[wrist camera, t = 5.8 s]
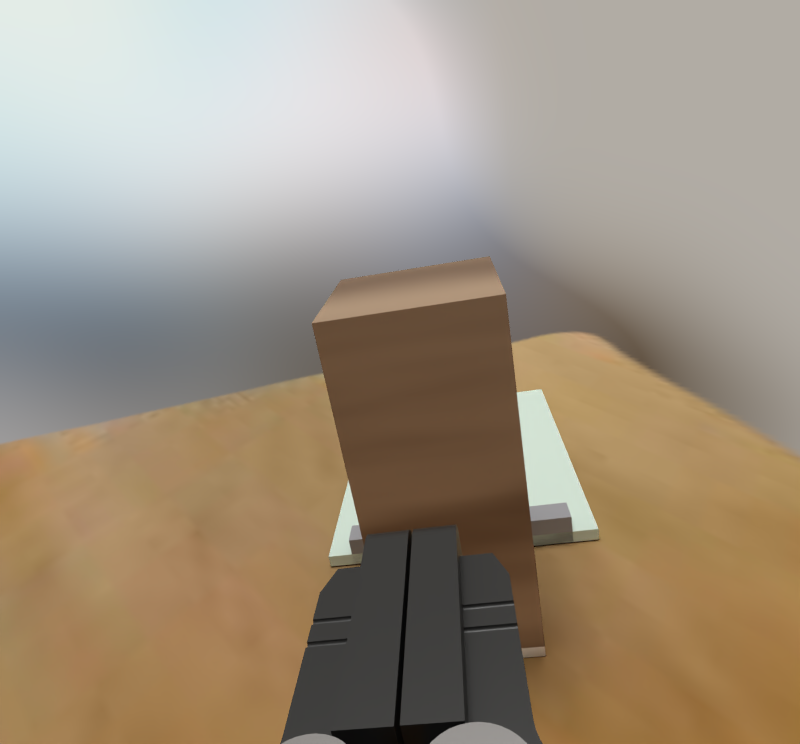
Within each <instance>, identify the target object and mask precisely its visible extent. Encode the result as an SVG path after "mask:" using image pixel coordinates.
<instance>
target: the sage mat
mask: <svg viewBox="0 0 800 744" xmlns="http://www.w3.org/2000/svg"><path fill="white" fill-rule="evenodd" d="M517 400H518V409H519V418H520V427H521V436H522V445H523V454H524V463H525V472H526V481H527V490H528V499H529V508H530V517H531V526H532V535H533V545H534V546H538V545H548V544H558V543H567V542H577V541H587V540H597V539H599V530H598V527H597V524H596V522H595V519H594V517H593V514H592V512H591V510H590V507H589V505H588V502H587V500H586V497H585V495H584V492H583V490H582V488H581V485H580V483H579V480H578V478H577V475H576V473H575V470H574V468H573V466H572V463H571V461H570V458H569V456H568V453H567V451H566V448H565V446H564V444H563V441H562V439H561V436H560V434H559V431H558V429H557V426H556V424H555V422H554V419H553V417H552V414H551V412H550V409H549V407H548V404H547V402H546V400H545V397H544V395H543V392H542V390H541V389H540V390H532V391H524V392H517ZM363 549H364V544H363V540H362V536H361V531H360V527H359V523H358V519H357V514H356V510H355V506H354V501H353V497H352V493H351V489H350V484H349V480H348V484H347V488H346V492H345V496H344V500H343V503H342V507H341V511H340V515H339V519H338V523H337V527H336V530H335V534H334V538H333V542H332V546H331V550H330V554H329V560H330V564H331V566H340V565H350V564H360V563H361V560H362V555H363Z"/></svg>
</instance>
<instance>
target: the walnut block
mask: <svg viewBox="0 0 800 744" xmlns="http://www.w3.org/2000/svg"><path fill="white" fill-rule="evenodd" d="M312 326H313V330H314V335H315V339H316V343H317V347H318V352H319V356H320V360H321V365H322V369H323V373H324V377H325V382H326V386H327V390H328V395H329V399H330V403H331V407H332V412H333V416H334V420H335V425H336V429H337V433H338V437H339V442H340V446H341V450H342V454H343V459H344V463H345V467H346V472H347V476H348V480H349V484H350V489H351V493H352V497H353V501H354V506H355V510H356V514H357V519H358V523H359V527H360V531H361V536H362V540H363V544H365V539H366V536H367V535H368V534H376V533H385V532H394V531H403V530H411V531H412V532H413V529H419V528H428V527H437V526H446V525H455V524H457V527H458V532H459V538H460V544H461V550H462V556H466V555H476V554H485V553H493V554H494V555H495V557H496V558H497V559H498V560H499V562H500V563H501V564H502V565H503V567H504V568H505V569H506V570H507V572H508V573H509V575H510V581H511V587H512V594H513V600H514V606H515V612H516V618H517V624H518V630H519V636H520V642H521V648H522V654H523V658H526V657H539V656H546V653H545V644H544V635H543V626H542V617H541V608H540V599H539V590H538V581H537V572H536V563H535V554H534V545H533V535H532V526H531V517H530V508H529V499H528V490H527V481H526V472H525V463H524V454H523V445H522V436H521V427H520V418H519V409H518V400H517V391H516V382H515V373H514V364H513V355H512V345H511V336H510V328H509V319H508V309H507V302H506V294H505V291H504V289H503V286H502V284H501V282H500V279H499V277H498V275H497V272H496V270H495V268H494V265H493V263H492V261H491V258H490V257H482V258H477V259H470V260H464V261H457V262H452V263H445V264H439V265H432V266H426V267H420V268H413V269H407V270H401V271H395V272H389V273H382V274H376V275H369V276H363V277H357V278H350V279H344V280H341V281H340V282H339V284H338V285H337V287H336V288H335V290H334V291H333V293H332V294H331V296H330V297H329V299H328V300H327V301H326V303H325V304H324V306H323V308H322V309H321V311H320V312H319V313H318V315H317V316H316V318H315V319H314V321H313V322H312Z"/></svg>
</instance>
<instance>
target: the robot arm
mask: <svg viewBox="0 0 800 744" xmlns="http://www.w3.org/2000/svg"><path fill="white" fill-rule="evenodd" d="M307 643H308V647H307V648H306V649H305V653H304V657H303V660H302V664H301V668H300V672H299V676H298V680H297V683H296V687H295V691H294V695H293V699H292V703H291V707H290V710H289V714H288V718H287V722H286V726H285V730H284V734H283V737H282V740H281V743H280V744H542V742H541V740H540V738H539V736H538V734H537V731H536V729H535V725H534V721H533V715H532V709H531V703H530V697H529V691H528V685H527V679H526V673H525V667H524V661H523V654H522V648H521V642H520V636H519V630H518V624H517V618H516V612H515V606H514V600H513V594H512V587H511V581H510V575H509V573H508V572H507V570H506V569H505V568H504V567H503V565H502V564H501V563H500V562H499V560H498V559H497V558H496V557H495V555H494V554H493V553H485V554H476V555H466V556H462V550H461V544H460V538H459V532H458V527H457V524H455V525H446V526H437V527H428V528H419V529H413V532H412V531H411V530H403V531H394V532H385V533H376V534H368V535H367V536H366V539H365V544H364V549H363V555H362V560H361V566H360V567H353V568H344V569H338V570H337V571H336V573H335V574H334V575H333V577H332V578H331V579H330V580H329V582H328V583H327V584H326V586H325V587H324V588H323V590H322V591H321V592H320V595H319V599H318V603H317V606H316V610H315V614H314V618H313V625H312V626H311V630H310V633H309V637H308V641H307Z"/></svg>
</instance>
